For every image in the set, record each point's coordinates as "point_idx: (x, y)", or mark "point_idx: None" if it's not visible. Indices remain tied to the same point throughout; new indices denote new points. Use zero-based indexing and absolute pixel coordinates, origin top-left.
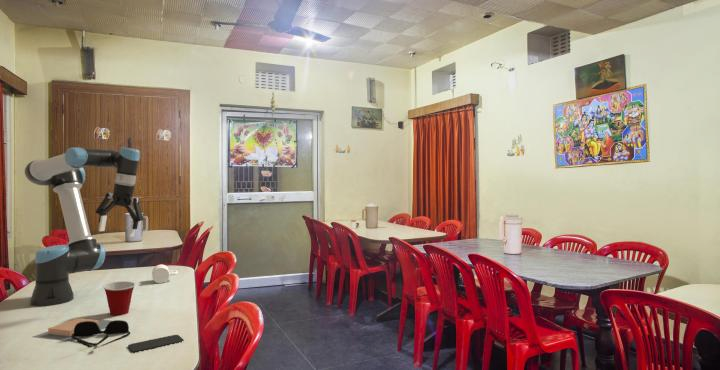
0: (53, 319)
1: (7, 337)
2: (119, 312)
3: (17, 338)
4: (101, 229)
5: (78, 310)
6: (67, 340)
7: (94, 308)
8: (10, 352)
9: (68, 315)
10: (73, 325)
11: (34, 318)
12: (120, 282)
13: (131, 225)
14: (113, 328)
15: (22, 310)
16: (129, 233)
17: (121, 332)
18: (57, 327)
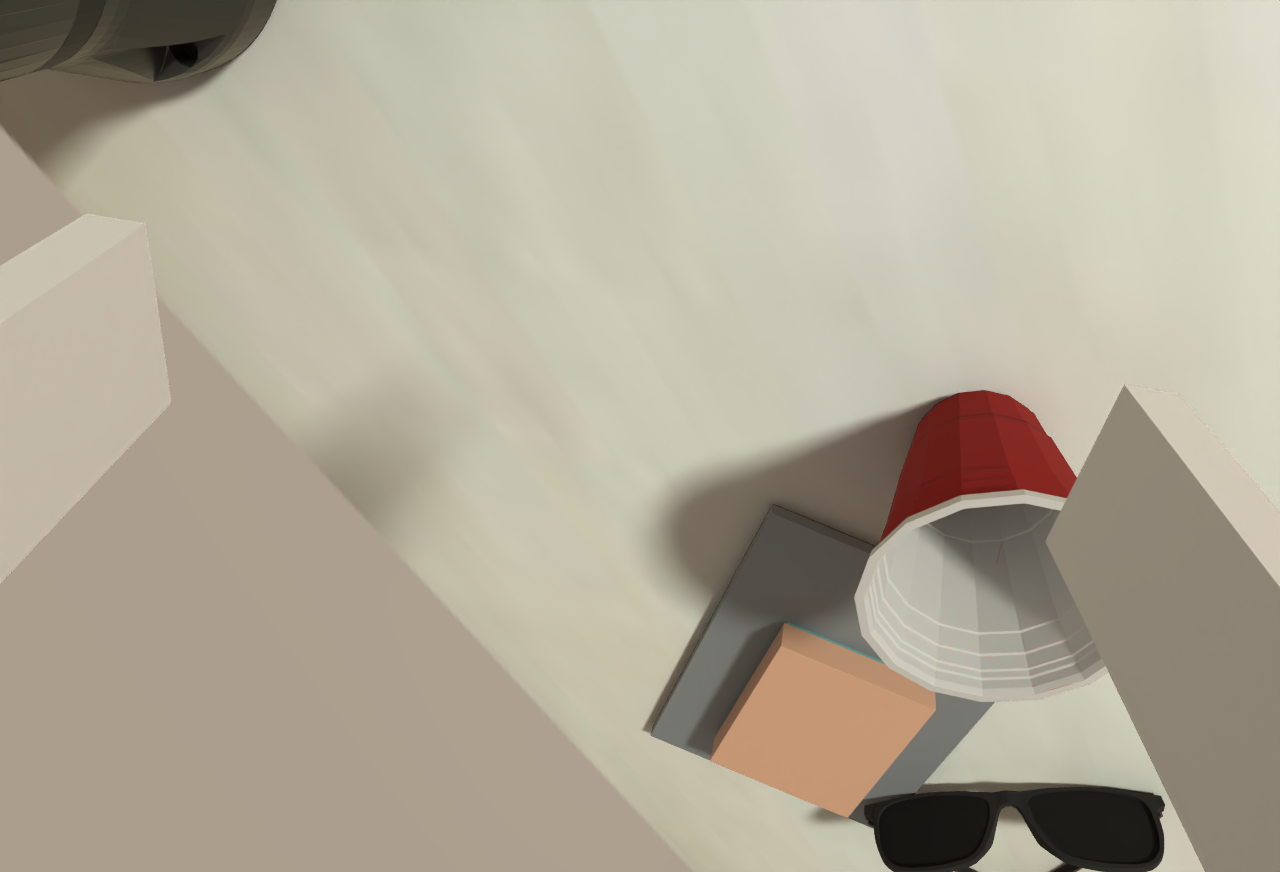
0: (537, 442)
1: (513, 674)
2: (998, 518)
3: (572, 697)
4: (136, 387)
5: (573, 251)
6: (857, 817)
7: (675, 209)
8: (668, 831)
9: (580, 372)
10: (824, 756)
11: (397, 398)
12: (972, 504)
13: (1231, 840)
14: (1073, 826)
15: (149, 185)
16: (1090, 607)
17: (1115, 808)
18: (751, 761)
